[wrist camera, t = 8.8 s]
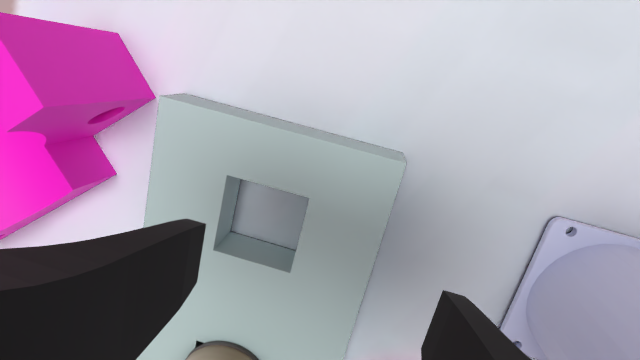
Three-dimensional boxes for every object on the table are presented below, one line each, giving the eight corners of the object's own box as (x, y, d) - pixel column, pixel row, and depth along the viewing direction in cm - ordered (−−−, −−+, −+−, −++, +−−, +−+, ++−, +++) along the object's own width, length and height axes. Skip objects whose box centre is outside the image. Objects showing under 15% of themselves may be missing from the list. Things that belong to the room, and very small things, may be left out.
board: (402, 152, 20) (406, 163, 17) (311, 438, 25) (305, 475, 23) (184, 93, 20) (159, 95, 18) (143, 383, 26) (120, 414, 24)
